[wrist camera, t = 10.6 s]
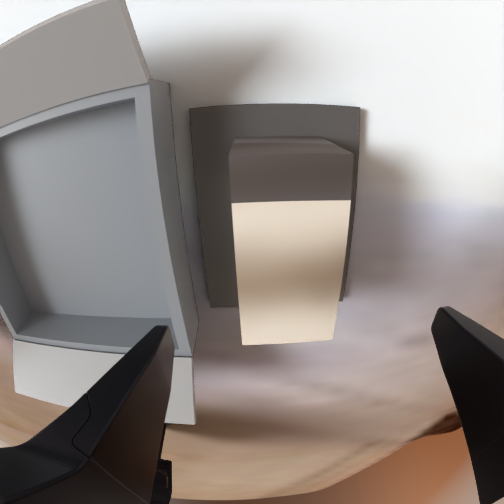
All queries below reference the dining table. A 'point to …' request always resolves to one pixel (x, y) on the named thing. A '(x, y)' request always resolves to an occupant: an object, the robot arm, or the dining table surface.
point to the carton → (89, 208)
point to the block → (289, 235)
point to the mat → (218, 176)
